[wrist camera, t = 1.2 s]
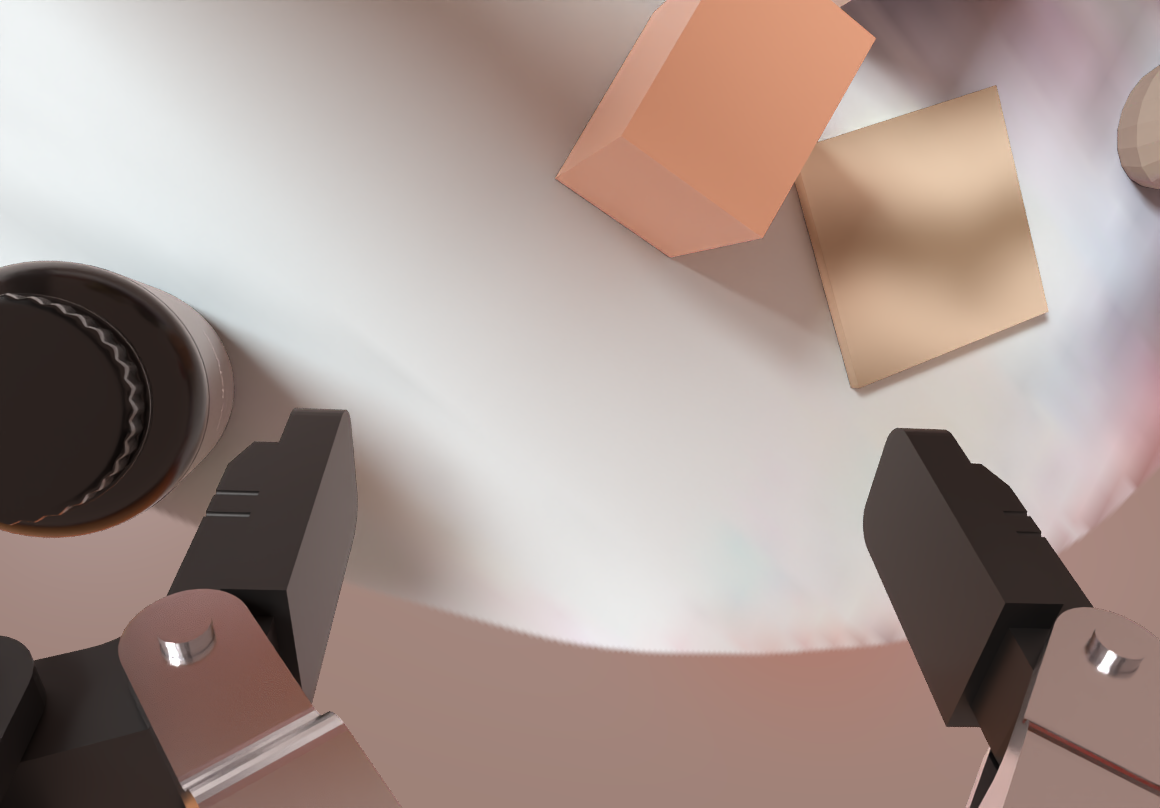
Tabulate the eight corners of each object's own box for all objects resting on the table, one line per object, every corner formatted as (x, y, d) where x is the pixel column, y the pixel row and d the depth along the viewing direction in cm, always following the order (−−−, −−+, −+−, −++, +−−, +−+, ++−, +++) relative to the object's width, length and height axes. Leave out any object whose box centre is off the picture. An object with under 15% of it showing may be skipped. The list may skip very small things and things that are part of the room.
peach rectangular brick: (670, 257, 35) (762, 238, 27) (554, 178, 33) (621, 136, 26) (761, 98, 35) (875, 38, 28) (652, 13, 34) (744, -74, 26)
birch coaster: (786, 152, 36) (794, 149, 35) (985, 88, 38) (996, 85, 37) (851, 387, 37) (859, 388, 37) (1037, 311, 40) (1048, 311, 39)
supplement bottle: (280, 392, 31) (260, 428, 19) (121, 528, 30) (-1, 651, 18) (132, 237, 29) (15, 175, 18) (-43, 374, 28) (-289, 404, 17)
